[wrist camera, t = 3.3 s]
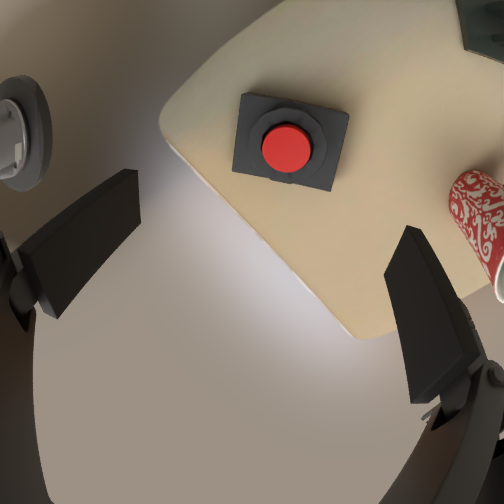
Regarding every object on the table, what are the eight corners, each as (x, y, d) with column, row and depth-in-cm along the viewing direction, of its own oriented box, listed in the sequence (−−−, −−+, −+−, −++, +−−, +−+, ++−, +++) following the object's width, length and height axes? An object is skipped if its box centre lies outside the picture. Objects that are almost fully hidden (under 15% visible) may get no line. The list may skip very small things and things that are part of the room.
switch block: (236, 165, 29) (227, 177, 26) (246, 92, 24) (236, 94, 21) (329, 184, 28) (331, 199, 25) (346, 112, 24) (353, 117, 20)
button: (262, 162, 25) (259, 167, 23) (268, 120, 22) (266, 122, 21) (305, 171, 24) (305, 177, 23) (314, 129, 22) (314, 132, 21)
